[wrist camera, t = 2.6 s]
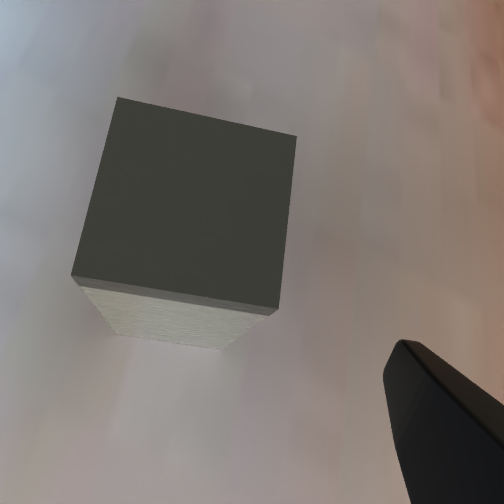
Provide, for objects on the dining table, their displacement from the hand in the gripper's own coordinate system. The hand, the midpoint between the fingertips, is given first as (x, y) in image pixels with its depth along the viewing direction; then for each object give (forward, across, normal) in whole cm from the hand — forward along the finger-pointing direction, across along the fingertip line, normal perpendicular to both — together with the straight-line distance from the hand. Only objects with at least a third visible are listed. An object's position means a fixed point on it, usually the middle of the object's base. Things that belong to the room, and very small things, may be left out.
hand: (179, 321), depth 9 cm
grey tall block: (+10, 0, +6) cm, 11 cm away
